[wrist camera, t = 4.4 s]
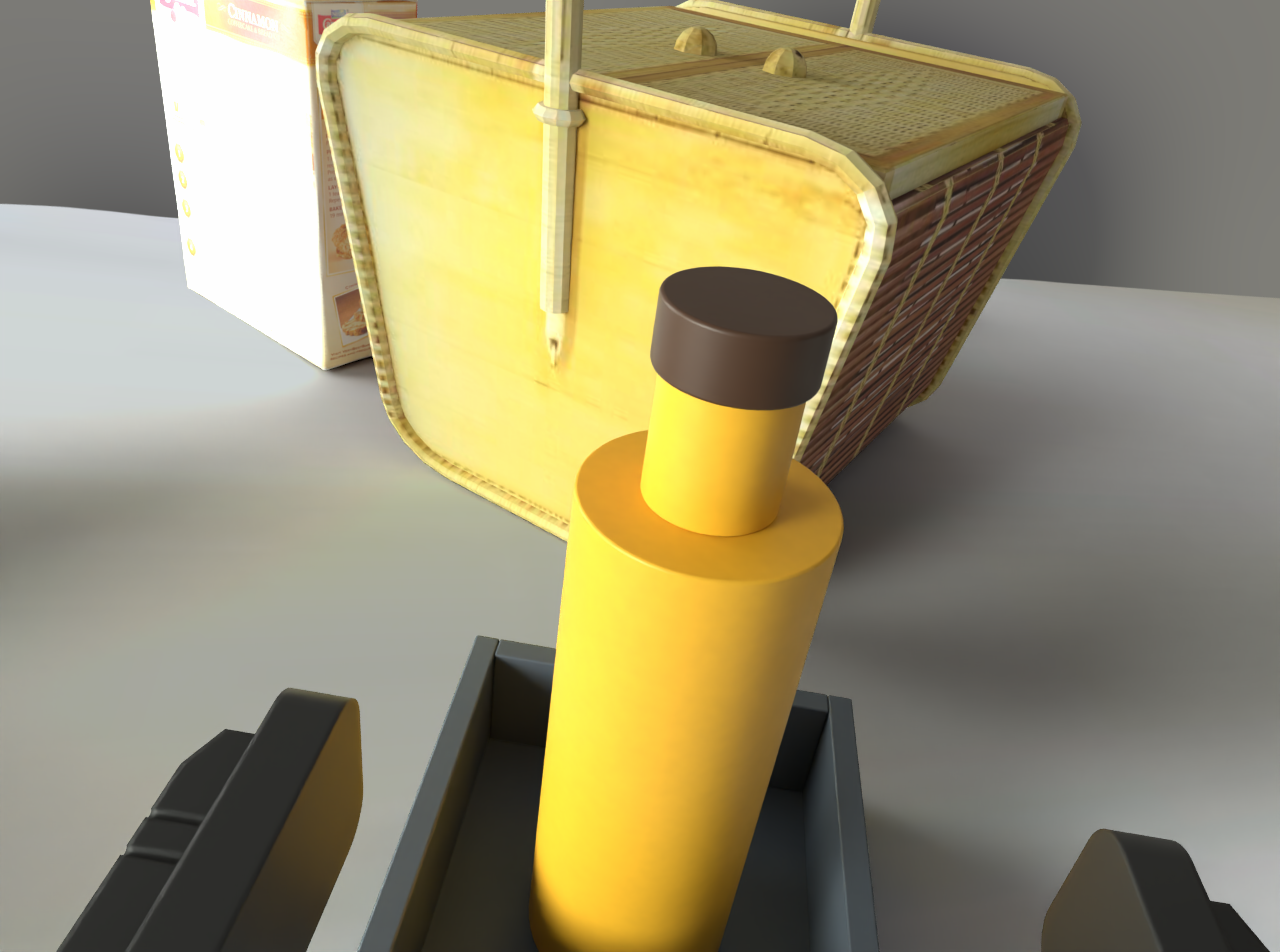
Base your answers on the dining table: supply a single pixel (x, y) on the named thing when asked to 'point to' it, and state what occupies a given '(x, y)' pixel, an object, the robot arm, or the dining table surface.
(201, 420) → the dining table surface
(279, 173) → the coffeecake box
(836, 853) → the tub
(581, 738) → the bottle
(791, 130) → the picnic basket
